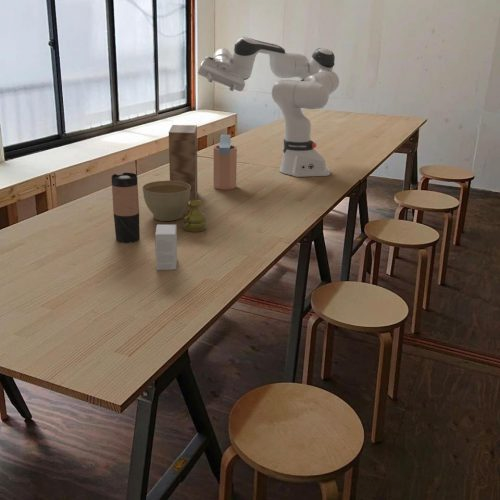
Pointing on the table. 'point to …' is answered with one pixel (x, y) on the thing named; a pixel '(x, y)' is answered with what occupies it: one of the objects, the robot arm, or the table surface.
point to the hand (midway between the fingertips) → (221, 85)
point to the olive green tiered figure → (194, 217)
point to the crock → (225, 169)
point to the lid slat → (224, 144)
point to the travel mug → (126, 207)
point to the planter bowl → (166, 199)
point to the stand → (184, 156)
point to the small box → (166, 247)
